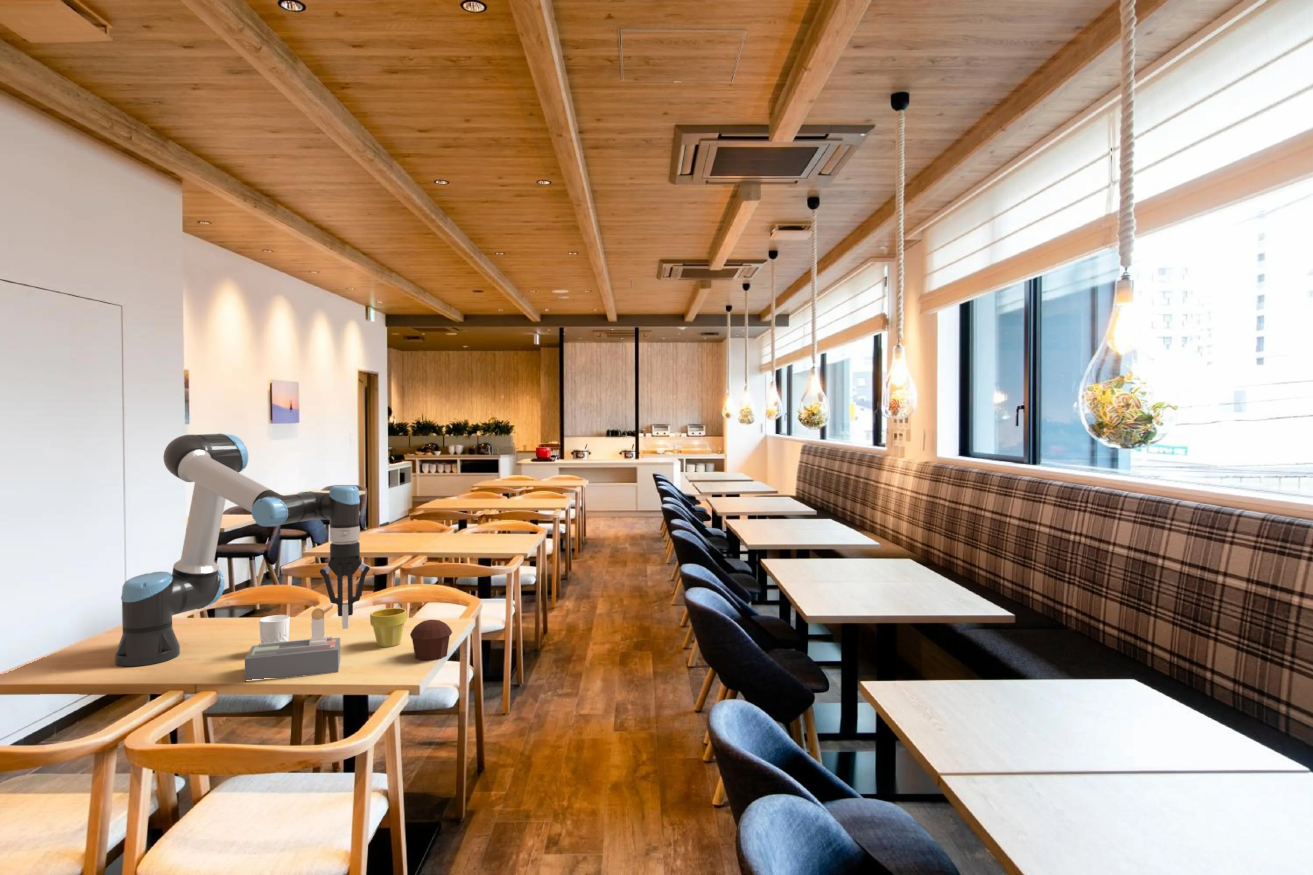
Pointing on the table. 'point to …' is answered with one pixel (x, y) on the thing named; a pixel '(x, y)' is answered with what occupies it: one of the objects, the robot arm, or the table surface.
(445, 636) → the muffin
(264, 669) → the switch block
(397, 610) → the plant pot
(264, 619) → the white cup
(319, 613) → the lever
